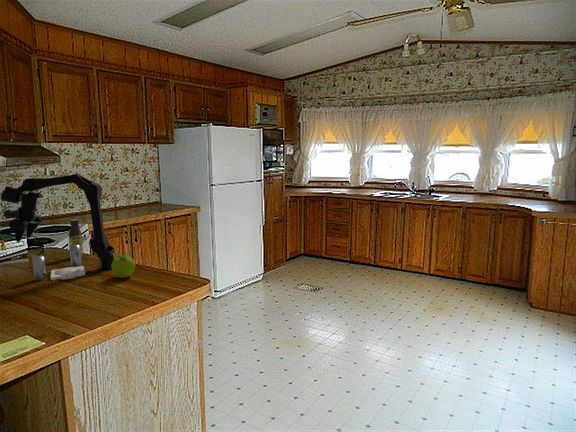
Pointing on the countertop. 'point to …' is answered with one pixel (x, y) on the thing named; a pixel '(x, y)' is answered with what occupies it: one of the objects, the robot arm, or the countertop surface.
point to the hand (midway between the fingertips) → (23, 239)
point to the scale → (67, 273)
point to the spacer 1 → (39, 268)
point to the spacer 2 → (75, 255)
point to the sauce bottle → (75, 235)
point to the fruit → (123, 266)
